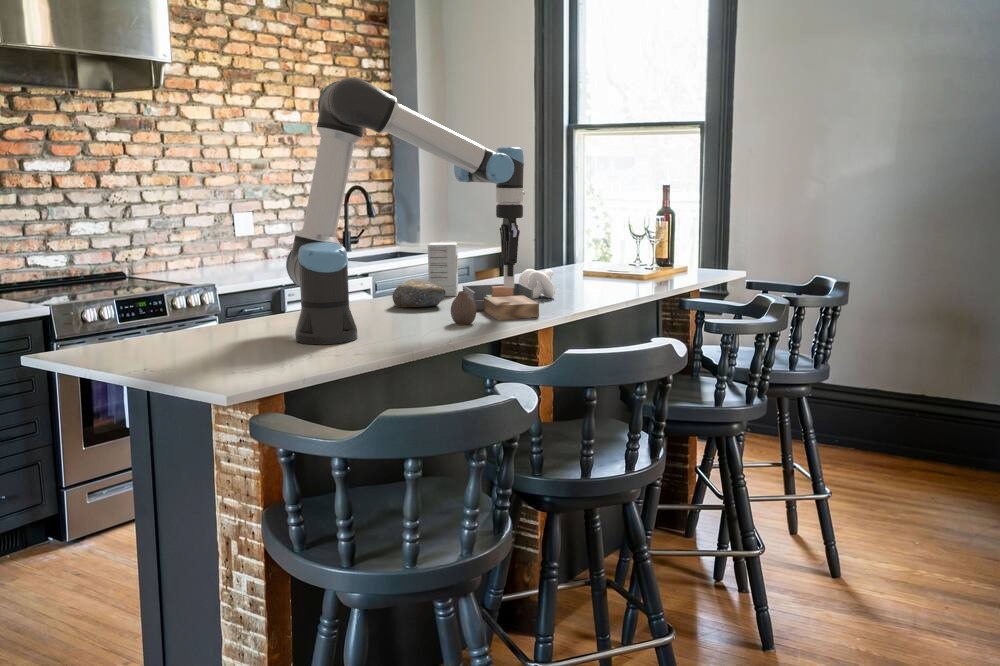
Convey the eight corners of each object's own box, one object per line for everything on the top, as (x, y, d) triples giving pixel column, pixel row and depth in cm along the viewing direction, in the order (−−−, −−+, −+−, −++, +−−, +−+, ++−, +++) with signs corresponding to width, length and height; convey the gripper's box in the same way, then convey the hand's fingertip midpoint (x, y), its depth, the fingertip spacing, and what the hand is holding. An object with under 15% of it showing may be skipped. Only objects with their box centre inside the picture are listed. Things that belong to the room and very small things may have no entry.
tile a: (493, 287, 268) (491, 286, 270) (493, 307, 269) (491, 306, 271) (513, 286, 269) (511, 285, 272) (513, 306, 270) (511, 305, 273)
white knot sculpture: (566, 298, 290) (566, 270, 288) (535, 301, 283) (535, 273, 281) (544, 294, 299) (544, 266, 297) (514, 297, 292) (514, 269, 291)
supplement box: (457, 296, 296) (455, 244, 293) (428, 296, 296) (427, 244, 293) (458, 292, 305) (457, 241, 302) (431, 292, 305) (429, 242, 302)
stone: (412, 301, 287) (411, 276, 286) (457, 306, 276) (456, 280, 274) (380, 307, 276) (379, 281, 275) (425, 313, 265) (425, 285, 263)
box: (473, 311, 266) (473, 292, 265) (463, 303, 281) (462, 285, 280) (533, 308, 270) (532, 289, 269) (519, 300, 285) (519, 283, 284)
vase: (473, 326, 242) (472, 293, 240) (448, 325, 243) (447, 293, 242) (479, 321, 249) (478, 290, 247) (454, 321, 250) (453, 289, 248)
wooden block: (497, 319, 251) (496, 305, 250) (484, 310, 266) (483, 297, 266) (538, 317, 254) (538, 303, 253) (523, 308, 269) (523, 295, 269)
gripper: (528, 204, 249) (527, 290, 253) (516, 202, 262) (515, 284, 266) (502, 204, 247) (501, 291, 252) (491, 202, 260) (490, 285, 264)
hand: (508, 287), depth 259 cm, fingers closed
